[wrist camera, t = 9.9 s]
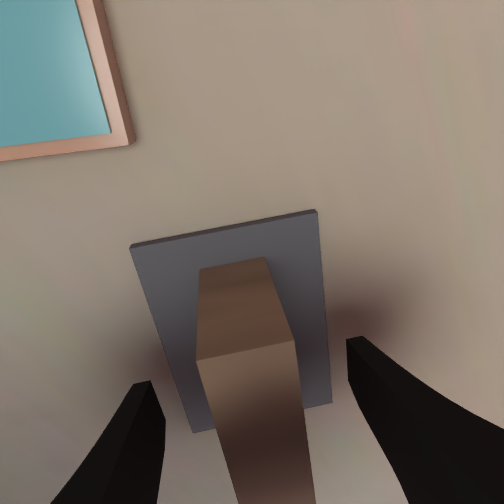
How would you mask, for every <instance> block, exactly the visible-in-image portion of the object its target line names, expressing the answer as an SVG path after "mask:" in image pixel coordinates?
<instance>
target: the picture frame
mask: <svg viewBox="0 0 504 504" xmlns="http://www.w3.org/2000/svg"><path fill="white" fill-rule="evenodd" d="M135 141H136V139H135V134H134V130H133V126H132V122H131V118H130V114H129V110H128V106H127V101H126V97H125V93H124V89H123V85H122V81H121V77H120V73H119V69H118V64H117V60H116V56H115V52H114V48H113V44H112V40H111V36H110V31H109V27H108V23H107V19H106V15H105V11H104V7H103V3H102V0H0V161H7V160H15V159H23V158H30V157H38V156H46V155H54V154H62V153H70V152H78V151H86V150H94V149H102V148H109V147H117V146H125V145H130V144H132V143H133V142H135Z"/></svg>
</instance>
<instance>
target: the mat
mask: <svg viewBox="0 0 504 504" xmlns="http://www.w3.org/2000/svg"><path fill="white" fill-rule="evenodd" d="M129 250H130V253H131V256H132V259H133V262H134V264H135V267H136V270H137V273H138V276H139V279H140V282H141V285H142V288H143V290H144V293H145V296H146V299H147V302H148V305H149V308H150V311H151V314H152V316H153V319H154V322H155V325H156V328H157V331H158V334H159V337H160V340H161V342H162V345H163V348H164V351H165V354H166V357H167V360H168V363H169V366H170V368H171V371H172V374H173V377H174V380H175V383H176V386H177V389H178V392H179V394H180V397H181V400H182V403H183V406H184V409H185V412H186V415H187V418H188V421H189V423H190V426H191V429H192V432H193V433H196V432H201V431H206V430H210V429H215V428H216V427H215V423H214V420H213V417H212V413H211V410H210V407H209V403H208V400H207V397H206V393H205V390H204V387H203V383H202V380H201V377H200V373H199V370H198V367H197V363H196V345H197V320H198V296H199V271H200V269H204V268H209V267H214V266H219V265H224V264H229V263H234V262H239V261H244V260H249V259H254V258H259V257H264V259H265V261H266V264H267V267H268V269H269V272H270V275H271V278H272V280H273V283H274V286H275V289H276V291H277V294H278V297H279V300H280V302H281V305H282V308H283V311H284V313H285V316H286V319H287V322H288V324H289V327H290V330H291V333H292V335H293V338H294V342H295V349H296V357H297V364H298V372H299V379H300V387H301V394H302V402H303V409H306V408H310V407H315V406H319V405H324V404H329V403H333V402H332V389H331V377H330V364H329V352H328V339H327V326H326V314H325V301H324V288H323V276H322V263H321V250H320V238H319V225H318V212H317V211H316V210H315V209H313V210H308V211H303V212H298V213H293V214H287V215H282V216H277V217H272V218H267V219H261V220H256V221H251V222H246V223H241V224H235V225H230V226H225V227H220V228H215V229H210V230H204V231H199V232H194V233H189V234H184V235H178V236H173V237H168V238H163V239H158V240H152V241H147V242H142V243H137V244H132V245H131V246H130V248H129Z"/></svg>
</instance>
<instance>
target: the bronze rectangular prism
mask: <svg viewBox="0 0 504 504" xmlns="http://www.w3.org/2000/svg"><path fill="white" fill-rule="evenodd" d="M196 363H197V367H198V370H199V373H200V377H201V380H202V383H203V387H204V390H205V393H206V397H207V400H208V403H209V407H210V410H211V413H212V417H213V420H214V423H215V427H216V430H217V433H218V437H219V440H220V443H221V447H222V450H223V453H224V457H225V460H226V463H227V467H228V470H229V473H230V477H231V480H232V483H233V487H234V490H235V493H236V497H237V500H238V503H239V504H316V500H315V492H314V485H313V477H312V470H311V462H310V455H309V447H308V440H307V432H306V425H305V417H304V410H303V402H302V394H301V387H300V379H299V372H298V364H297V357H296V349H295V342H294V338H293V335H292V333H291V330H290V327H289V324H288V322H287V319H286V316H285V313H284V311H283V308H282V305H281V302H280V300H279V297H278V294H277V291H276V289H275V286H274V283H273V280H272V278H271V275H270V272H269V269H268V267H267V264H266V261H265V259H264V257H259V258H254V259H249V260H244V261H239V262H234V263H229V264H224V265H219V266H214V267H209V268H204V269H200V271H199V296H198V320H197V345H196Z"/></svg>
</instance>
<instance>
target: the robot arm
mask: <svg viewBox="0 0 504 504" xmlns="http://www.w3.org/2000/svg"><path fill="white" fill-rule="evenodd" d="M346 347H347V367H348V381H349V384H350V386H351V389H352V391H353V394H354V396H355V398H356V401H357V403H358V406H359V408H360V410H361V411H362V413H363V415H364V417H365V419H366V421H367V423H368V424H369V426H370V428H371V430H372V432H373V434H374V435H375V437H376V439H377V441H378V443H379V444H380V446H381V448H382V450H383V452H384V454H385V455H386V457H387V459H388V461H389V463H390V464H391V466H392V468H393V470H394V472H395V474H396V476H397V478H398V480H399V482H400V484H401V487H402V489H403V491H404V494H405V496H406V498H407V500H408V503H409V504H504V429H503V428H501V427H499V426H497V425H495V424H493V423H491V422H489V421H487V420H485V419H483V418H481V417H479V416H477V415H475V414H473V413H471V412H470V411H468V410H466V409H464V408H463V407H461V406H459V405H458V404H456V403H454V402H452V401H451V400H449V399H448V398H446V397H444V396H443V395H441V394H440V393H438V392H437V391H435V390H434V389H432V388H431V387H429V386H428V385H426V384H425V383H423V382H422V381H420V380H419V379H418V378H416V377H415V376H413V375H412V374H411V373H409V372H408V371H407V370H405V369H404V368H403V367H401V366H400V365H399V364H397V363H396V362H395V361H393V360H392V359H391V358H390V357H388V356H387V355H386V354H385V353H383V352H382V351H381V350H380V349H378V348H377V347H376V346H375V345H373V344H372V343H371V342H370V341H369V340H367V339H366V338H365V337H363V336H358V337H354V338H349V339H346ZM165 428H166V419H165V417H164V414H163V412H162V409H161V406H160V404H159V401H158V399H157V396H156V393H155V391H154V388H153V386H152V383H151V381H145V382H141V383H136V384H133V385H132V387H131V388H130V390H129V392H128V393H127V395H126V396H125V398H124V400H123V401H122V403H121V405H120V406H119V408H118V409H117V411H116V413H115V414H114V416H113V417H112V419H111V421H110V422H109V424H108V425H107V427H106V428H105V430H104V431H103V433H102V434H101V436H100V438H99V439H98V441H97V442H96V444H95V445H94V446H93V448H92V449H91V451H90V452H89V454H88V455H87V456H86V458H85V459H84V461H83V462H82V463H81V465H80V466H79V468H78V469H77V470H76V472H75V473H74V474H73V476H72V477H71V478H70V480H69V481H68V482H67V483H66V485H65V486H64V487H63V489H62V490H61V491H60V492H59V494H58V495H57V496H56V497H55V498H54V500H53V501H52V502H51V503H50V504H157V498H158V491H159V485H160V478H161V472H162V465H163V458H164V451H165Z"/></svg>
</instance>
